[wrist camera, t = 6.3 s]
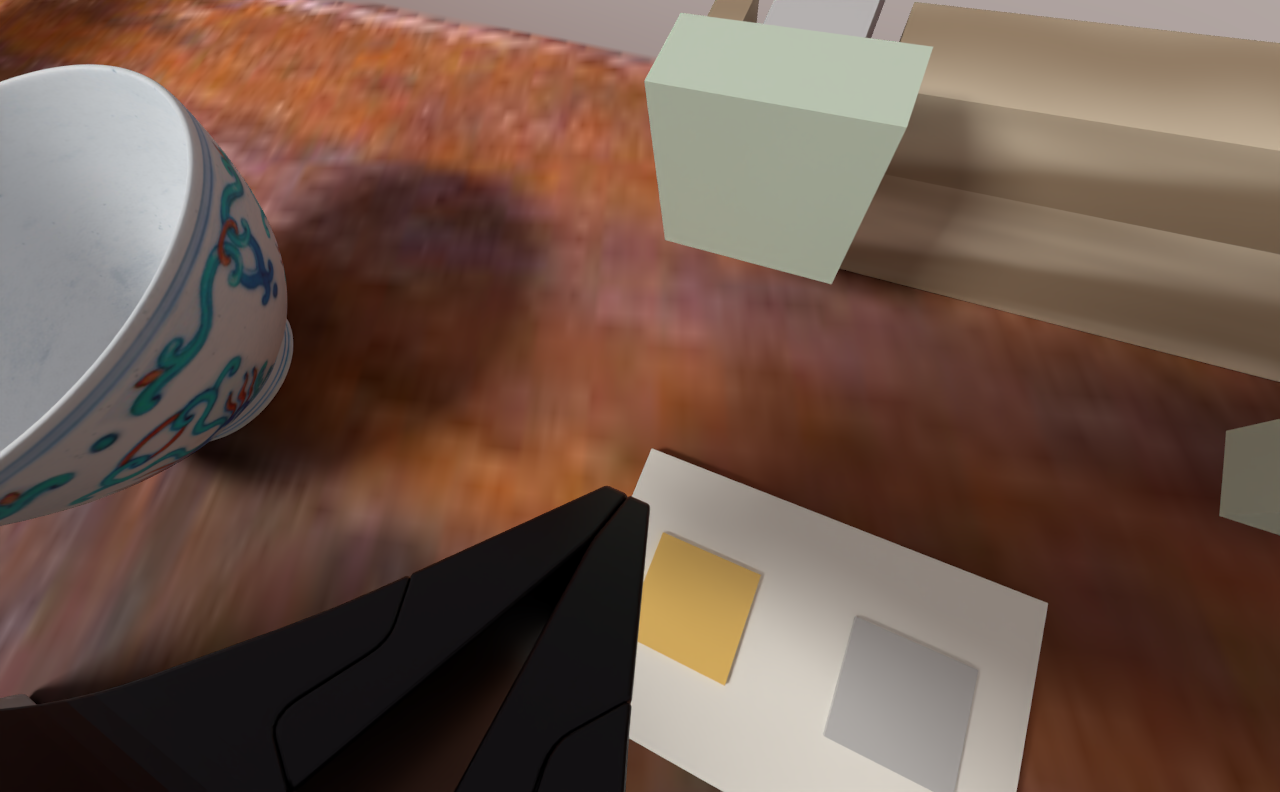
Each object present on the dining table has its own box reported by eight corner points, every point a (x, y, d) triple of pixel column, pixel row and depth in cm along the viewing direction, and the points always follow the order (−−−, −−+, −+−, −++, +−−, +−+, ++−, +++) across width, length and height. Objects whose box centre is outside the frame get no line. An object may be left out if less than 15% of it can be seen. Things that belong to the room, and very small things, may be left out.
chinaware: (344, 176, 22) (171, -3, 15) (426, 439, 17) (223, 360, 10) (65, 311, 22) (-250, 196, 15) (64, 621, 17) (-420, 677, 10)
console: (1315, 391, 14) (1883, 246, 7) (693, 231, 18) (686, 56, 12) (1318, 307, 14) (1833, 106, 8) (718, 174, 19) (725, -20, 13)
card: (981, 929, 11) (994, 948, 10) (554, 689, 14) (548, 695, 13) (1038, 601, 13) (1051, 603, 12) (653, 450, 16) (651, 447, 15)
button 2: (831, 284, 13) (906, 127, 8) (665, 239, 14) (644, 81, 9) (924, 13, 15) (1021, -225, 11) (778, -4, 16) (807, -225, 12)
